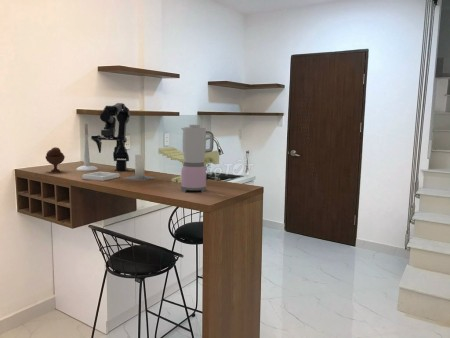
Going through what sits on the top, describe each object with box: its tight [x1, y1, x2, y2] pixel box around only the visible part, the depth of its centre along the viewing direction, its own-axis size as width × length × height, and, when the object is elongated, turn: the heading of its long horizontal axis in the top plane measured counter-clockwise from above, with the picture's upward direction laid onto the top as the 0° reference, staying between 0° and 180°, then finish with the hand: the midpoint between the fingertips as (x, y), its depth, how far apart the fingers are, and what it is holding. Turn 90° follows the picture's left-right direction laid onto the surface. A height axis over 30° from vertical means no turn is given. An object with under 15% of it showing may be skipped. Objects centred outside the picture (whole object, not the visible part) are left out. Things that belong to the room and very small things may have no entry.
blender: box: [180, 124, 215, 193], centre depth 179 cm, size 16×12×32 cm
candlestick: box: [76, 123, 98, 172], centre depth 236 cm, size 13×13×30 cm
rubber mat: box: [122, 175, 157, 181], centre depth 210 cm, size 14×14×1 cm
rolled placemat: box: [134, 154, 145, 178], centre depth 209 cm, size 5×5×13 cm
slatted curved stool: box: [157, 146, 220, 184], centre depth 206 cm, size 30×16×18 cm, turn 61°
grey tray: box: [81, 171, 120, 182], centre depth 206 cm, size 14×14×2 cm
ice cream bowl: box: [45, 147, 66, 173], centre depth 226 cm, size 11×11×15 cm
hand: (107, 153), depth 210 cm, fingers open, 9 cm apart
